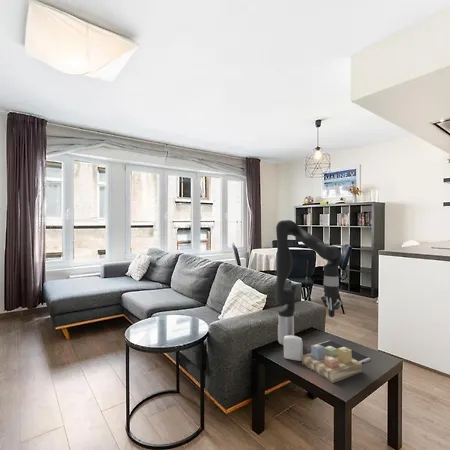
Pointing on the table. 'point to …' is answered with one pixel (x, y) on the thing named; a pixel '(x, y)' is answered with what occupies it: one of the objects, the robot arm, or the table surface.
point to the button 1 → (317, 352)
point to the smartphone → (355, 355)
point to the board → (329, 373)
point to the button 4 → (344, 355)
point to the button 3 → (331, 362)
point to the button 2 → (330, 351)
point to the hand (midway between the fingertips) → (331, 316)
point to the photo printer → (293, 348)
